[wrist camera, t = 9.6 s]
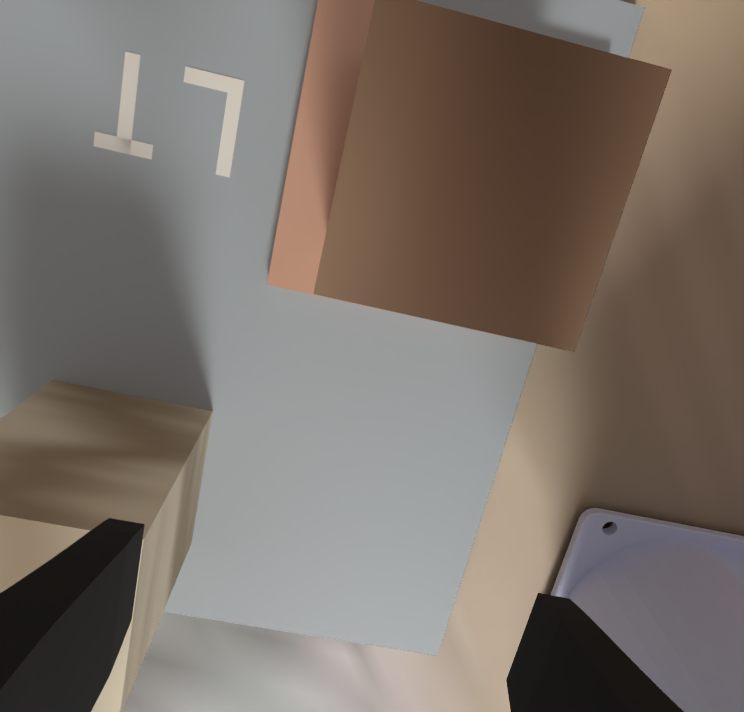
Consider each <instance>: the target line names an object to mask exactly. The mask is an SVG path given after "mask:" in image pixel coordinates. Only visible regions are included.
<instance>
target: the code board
mask: <svg viewBox="0 0 744 712" xmlns="http://www.w3.org/2000/svg"><path fill="white" fill-rule="evenodd" d="M418 1H421V2H425V3H429V4H432V5H436V6H440V7H443V8H447V9H451V10H454V11H458V12H462V13H465V14H469V15H473V16H476V17H480V18H484V19H487V20H491V21H495V22H498V23H502V24H506V25H509V26H513V27H517V28H520V29H524V30H528V31H531V32H535V33H539V34H542V35H546V36H550V37H553V38H557V39H561V40H564V41H568V42H572V43H575V44H579V45H583V46H586V47H590V48H594V49H597V50H601V51H605V52H608V53H612V54H616V55H619V56H623V57H627V58H629V55H630V52H631V49H632V46H633V43H634V39H635V36H636V33H637V30H638V27H639V24H640V21H641V18H642V14H643V11H644V8H645V7H642V6H638V5H635V4H631V3H628V2H624V1H620V0H418ZM317 3H318V0H0V419H1V418H2V417H4V416H5V415H6V414H8V413H9V412H10V411H12V410H13V409H14V408H16V407H17V406H18V405H20V404H21V403H22V402H24V401H25V400H26V399H28V398H29V397H30V396H32V395H33V394H34V393H36V392H37V391H38V390H40V389H41V388H42V387H44V386H45V385H46V384H47V383H49V382H50V381H51V380H55V381H60V382H65V383H70V384H76V385H81V386H86V387H91V388H96V389H101V390H107V391H112V392H117V393H122V394H127V395H132V396H137V397H143V398H148V399H153V400H158V401H163V402H168V403H173V404H179V405H184V406H189V407H194V408H199V409H204V410H209V411H213V415H212V421H211V427H210V433H209V439H208V445H207V451H206V457H205V463H204V469H203V476H202V482H201V488H200V494H199V500H198V506H197V512H196V518H195V524H194V530H193V536H192V543H191V546H190V548H189V551H188V553H187V555H186V558H185V560H184V563H183V565H182V568H181V570H180V572H179V575H178V577H177V580H176V582H175V585H174V587H173V589H172V592H171V594H170V597H169V599H168V602H167V604H166V606H165V609H164V611H163V612H168V613H174V614H180V615H186V616H193V617H199V618H205V619H211V620H217V621H223V622H230V623H236V624H242V625H248V626H254V627H260V628H267V629H273V630H279V631H285V632H291V633H297V634H304V635H310V636H316V637H322V638H328V639H334V640H341V641H347V642H353V643H359V644H365V645H371V646H378V647H384V648H390V649H396V650H402V651H408V652H414V653H421V654H427V655H433V656H438V653H439V650H440V646H441V643H442V640H443V637H444V634H445V631H446V628H447V625H448V621H449V618H450V615H451V612H452V609H453V606H454V603H455V600H456V596H457V593H458V590H459V587H460V584H461V581H462V578H463V574H464V571H465V568H466V565H467V562H468V559H469V556H470V553H471V549H472V546H473V543H474V540H475V537H476V534H477V531H478V528H479V524H480V521H481V518H482V515H483V512H484V509H485V506H486V503H487V499H488V496H489V493H490V490H491V487H492V484H493V481H494V477H495V474H496V471H497V468H498V465H499V462H500V459H501V456H502V452H503V449H504V446H505V443H506V440H507V437H508V434H509V431H510V427H511V424H512V421H513V418H514V415H515V412H516V409H517V406H518V402H519V399H520V396H521V393H522V390H523V387H524V384H525V380H526V377H527V374H528V371H529V368H530V365H531V362H532V359H533V355H534V352H535V349H536V346H537V344H536V343H532V342H527V341H523V340H518V339H514V338H509V337H505V336H500V335H496V334H491V333H487V332H482V331H478V330H473V329H469V328H464V327H460V326H455V325H451V324H446V323H442V322H437V321H433V320H428V319H424V318H419V317H414V316H410V315H405V314H401V313H396V312H391V311H387V310H382V309H377V308H373V307H368V306H363V305H359V304H354V303H350V302H345V301H340V300H336V299H331V298H326V297H322V296H317V295H312V294H308V293H303V292H298V291H294V290H289V289H285V288H280V287H275V286H271V285H267V281H268V275H269V269H270V264H271V258H272V253H273V247H274V242H275V236H276V231H277V225H278V219H279V214H280V208H281V203H282V197H283V192H284V186H285V181H286V175H287V169H288V164H289V158H290V153H291V147H292V142H293V136H294V131H295V125H296V119H297V114H298V108H299V103H300V97H301V92H302V86H303V81H304V75H305V69H306V64H307V58H308V53H309V47H310V42H311V36H312V31H313V25H314V19H315V14H316V8H317Z"/></svg>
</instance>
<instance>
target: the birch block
mask: <svg viewBox="0 0 744 712" xmlns="http://www.w3.org/2000/svg"><path fill="white" fill-rule="evenodd" d="M212 415H213V411H209V410H204V409H199V408H194V407H189V406H184V405H179V404H173V403H168V402H163V401H158V400H153V399H148V398H143V397H137V396H132V395H127V394H122V393H117V392H112V391H107V390H101V389H96V388H91V387H86V386H81V385H76V384H70V383H65V382H60V381H55V380H51V381H50V382H49V383H47V384H46V385H45V386H44V387H42V388H41V389H40V390H38V391H37V392H36V393H34V394H33V395H32V396H30V397H29V398H28V399H26V400H25V401H24V402H22V403H21V404H20V405H18V406H17V407H16V408H14V409H13V410H12V411H10V412H9V413H8V414H6V415H5V416H4V417H2V418H1V419H0V593H1V592H3V591H4V590H6V589H7V588H9V587H10V586H12V585H14V584H15V583H16V582H18V581H19V580H21V579H22V578H24V577H25V576H27V575H28V574H30V573H31V572H33V571H34V570H36V569H37V568H39V567H40V566H42V565H43V564H45V563H46V562H48V561H49V560H50V559H52V558H53V557H55V556H56V555H57V554H59V553H60V552H62V551H63V550H64V549H66V548H67V547H69V546H70V545H71V544H73V543H74V542H76V541H77V540H78V539H80V538H81V537H82V536H84V535H85V534H87V533H88V532H89V531H91V530H92V529H93V528H95V527H96V526H98V525H99V524H100V523H102V522H104V521H105V520H107V519H108V518H112V519H118V520H124V521H130V522H135V523H141V524H145V526H144V533H143V540H142V547H141V555H140V562H139V569H138V577H137V584H136V591H135V599H134V606H133V613H132V620H131V623H130V625H129V628H128V630H127V633H126V636H125V638H124V641H123V643H122V646H121V649H120V651H119V654H118V656H117V659H116V661H115V664H114V666H113V669H112V671H111V674H110V676H109V678H108V680H107V682H106V684H105V686H104V688H103V690H102V692H101V694H100V695H99V697H98V699H97V701H96V703H95V705H94V707H93V709H92V711H91V712H122V711H123V708H124V706H125V704H126V701H127V699H128V696H129V694H130V691H131V689H132V687H133V684H134V682H135V679H136V677H137V674H138V672H139V670H140V667H141V665H142V662H143V660H144V657H145V655H146V653H147V650H148V648H149V645H150V643H151V640H152V638H153V636H154V633H155V631H156V628H157V626H158V623H159V621H160V619H161V616H162V614H163V611H164V609H165V606H166V604H167V602H168V599H169V597H170V594H171V592H172V589H173V587H174V585H175V582H176V580H177V577H178V575H179V572H180V570H181V568H182V565H183V563H184V560H185V558H186V555H187V553H188V551H189V548H190V546H191V543H192V536H193V530H194V524H195V518H196V512H197V506H198V500H199V494H200V488H201V482H202V476H203V469H204V463H205V457H206V451H207V445H208V439H209V433H210V427H211V421H212Z"/></svg>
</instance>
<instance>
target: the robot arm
mask: <svg viewBox="0 0 744 712" xmlns="http://www.w3.org/2000/svg"><path fill="white" fill-rule="evenodd" d="M607 522H613V523H612V525H611V526H610V527H608V528H602V527H603V526H604V524H605V523H607ZM144 526H145V524H141V523H135V522H130V521H124V520H118V519H112V518H108V519H107V520H105V521H104V522H102V523H100V524H99V525H98V526H96V527H95V528H93V529H92V530H91V531H89V532H88V533H87V534H85V535H84V536H82V537H81V538H80V539H78V540H77V541H76V542H74V543H73V544H71V545H70V546H69V547H67V548H66V549H64V550H63V551H62V552H60V553H59V554H57V555H56V556H55V557H53V558H52V559H50V560H49V561H48V562H46V563H45V564H43V565H42V566H40V567H39V568H37V569H36V570H34V571H33V572H31V573H30V574H28V575H27V576H25V577H24V578H22V579H21V580H19V581H18V582H16V583H15V584H14V585H12V586H10V587H9V588H7V589H6V590H4V591H3V592H1V593H0V712H91V711H92V709H93V707H94V705H95V703H96V701H97V699H98V697H99V695H100V694H101V692H102V690H103V688H104V686H105V684H106V682H107V680H108V678H109V676H110V674H111V671H112V669H113V666H114V664H115V661H116V659H117V656H118V654H119V651H120V649H121V646H122V643H123V641H124V638H125V636H126V633H127V630H128V628H129V625H130V623H131V620H132V613H133V606H134V599H135V591H136V584H137V577H138V569H139V562H140V555H141V547H142V540H143V533H144ZM507 687H508V694H509V701H510V708H511V712H744V536H741V535H736V534H731V533H726V532H720V531H715V530H710V529H705V528H699V527H694V526H689V525H684V524H678V523H673V522H668V521H663V520H657V519H652V518H647V517H642V516H636V515H631V514H626V513H621V512H615V511H610V510H605V509H600V508H590V509H587V510H585V511H584V512H583V513H582V514H581V516H580V517H579V519H578V522H577V525H576V528H575V530H574V533H573V536H572V538H571V541H570V544H569V546H568V549H567V552H566V554H565V557H564V560H563V562H562V565H561V568H560V570H559V573H558V576H557V578H556V581H555V584H554V587H553V589H552V592H551V595H547V594H541V593H538V595H537V598H536V600H535V603H534V606H533V609H532V611H531V614H530V617H529V620H528V622H527V625H526V628H525V631H524V633H523V636H522V639H521V642H520V644H519V647H518V650H517V652H516V655H515V658H514V661H513V663H512V666H511V669H510V672H509V674H508V677H507Z"/></svg>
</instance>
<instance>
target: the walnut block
mask: <svg viewBox="0 0 744 712" xmlns="http://www.w3.org/2000/svg"><path fill="white" fill-rule="evenodd" d="M670 73H671V69H667V68H663V67H660V66H656V65H652V64H649V63H645V62H641V61H638V60H634V59H630V58H627V57H623V56H619V55H616V54H612V53H608V52H605V51H601V50H597V49H594V48H590V47H586V46H583V45H579V44H575V43H572V42H568V41H564V40H561V39H557V38H553V37H550V36H546V35H542V34H539V33H535V32H531V31H528V30H524V29H520V28H517V27H513V26H509V25H506V24H502V23H498V22H495V21H491V20H487V19H484V18H480V17H476V16H473V15H469V14H465V13H462V12H458V11H454V10H451V9H447V8H443V7H440V6H436V5H432V4H429V3H425V2H421V1H418V0H375V2H374V7H373V11H372V16H371V21H370V26H369V30H368V35H367V40H366V45H365V50H364V54H363V59H362V64H361V69H360V73H359V78H358V83H357V88H356V92H355V97H354V102H353V107H352V112H351V116H350V121H349V126H348V131H347V135H346V140H345V145H344V150H343V154H342V159H341V164H340V169H339V174H338V178H337V183H336V188H335V193H334V197H333V202H332V207H331V212H330V217H329V221H328V226H327V231H326V236H325V240H324V245H323V250H322V255H321V259H320V264H319V269H318V274H317V279H316V283H315V288H314V293H313V294H315V295H320V296H324V297H329V298H333V299H338V300H342V301H347V302H351V303H356V304H360V305H365V306H370V307H374V308H379V309H383V310H388V311H392V312H397V313H401V314H406V315H410V316H415V317H419V318H424V319H428V320H433V321H437V322H442V323H446V324H451V325H455V326H460V327H464V328H469V329H473V330H478V331H482V332H487V333H491V334H496V335H500V336H505V337H509V338H514V339H518V340H523V341H527V342H532V343H536V344H541V345H546V346H550V347H555V348H559V349H564V350H568V351H573V352H574V351H575V348H576V345H577V342H578V339H579V337H580V334H581V331H582V328H583V325H584V322H585V319H586V316H587V313H588V310H589V308H590V305H591V302H592V299H593V296H594V293H595V290H596V287H597V284H598V282H599V279H600V276H601V273H602V270H603V267H604V264H605V261H606V258H607V256H608V253H609V250H610V247H611V244H612V241H613V238H614V235H615V232H616V229H617V227H618V224H619V221H620V218H621V215H622V212H623V209H624V206H625V203H626V201H627V198H628V195H629V192H630V189H631V186H632V183H633V180H634V177H635V175H636V172H637V169H638V166H639V163H640V160H641V157H642V154H643V151H644V148H645V146H646V143H647V140H648V137H649V134H650V131H651V128H652V125H653V122H654V120H655V117H656V114H657V111H658V108H659V105H660V102H661V99H662V96H663V94H664V91H665V88H666V85H667V82H668V79H669V76H670Z"/></svg>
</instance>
